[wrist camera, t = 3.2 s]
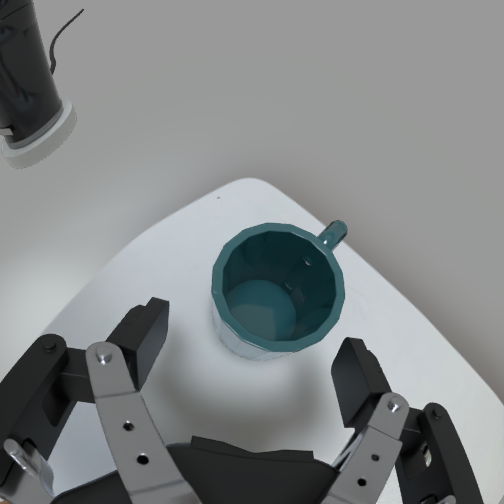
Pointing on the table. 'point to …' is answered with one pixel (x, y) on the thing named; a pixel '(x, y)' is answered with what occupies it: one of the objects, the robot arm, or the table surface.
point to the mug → (277, 289)
